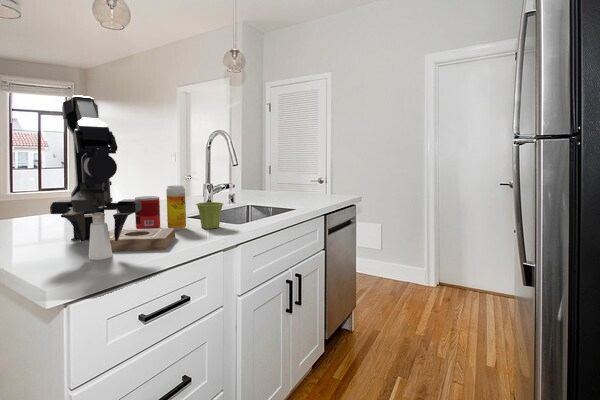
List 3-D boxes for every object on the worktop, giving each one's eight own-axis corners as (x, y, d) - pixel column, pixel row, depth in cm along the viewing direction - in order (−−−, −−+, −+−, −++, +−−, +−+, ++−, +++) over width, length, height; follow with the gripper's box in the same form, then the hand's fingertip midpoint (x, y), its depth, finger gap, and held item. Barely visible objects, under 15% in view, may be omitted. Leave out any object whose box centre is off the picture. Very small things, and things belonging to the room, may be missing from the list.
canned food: (165, 227, 124) (164, 196, 123) (148, 231, 117) (147, 198, 116) (148, 225, 127) (146, 195, 126) (130, 229, 119) (129, 197, 118)
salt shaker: (92, 254, 88) (89, 211, 87) (115, 253, 90) (113, 211, 88) (84, 260, 83) (81, 215, 82) (109, 259, 84) (107, 214, 83)
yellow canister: (180, 231, 118) (178, 186, 116) (164, 230, 119) (162, 186, 117) (189, 227, 124) (188, 185, 122) (173, 226, 125) (172, 185, 123)
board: (93, 251, 92) (92, 239, 91) (113, 239, 105) (112, 229, 105) (165, 249, 94) (164, 237, 94) (175, 237, 108) (174, 227, 108)
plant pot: (199, 225, 129) (198, 201, 128) (225, 224, 130) (224, 201, 129) (194, 230, 119) (193, 205, 118) (222, 230, 120) (222, 205, 119)
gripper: (33, 179, 75) (39, 250, 77) (126, 179, 78) (129, 248, 79) (60, 177, 86) (64, 239, 87) (140, 177, 89) (143, 237, 90)
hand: (99, 241), depth 86 cm, fingers open, 7 cm apart
